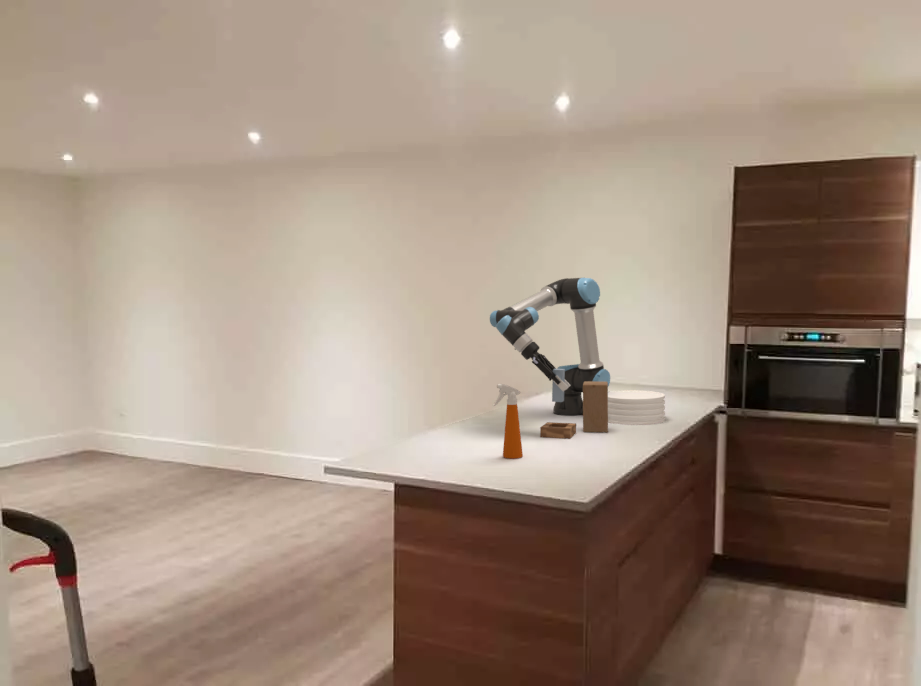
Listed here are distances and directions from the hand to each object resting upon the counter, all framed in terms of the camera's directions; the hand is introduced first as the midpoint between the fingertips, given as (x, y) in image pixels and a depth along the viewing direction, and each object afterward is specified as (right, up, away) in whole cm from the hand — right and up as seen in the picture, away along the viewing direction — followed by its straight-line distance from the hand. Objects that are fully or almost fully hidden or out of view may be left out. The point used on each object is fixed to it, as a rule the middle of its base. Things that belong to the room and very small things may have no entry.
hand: (566, 388), depth 301 cm
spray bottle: (-26, -22, -35) cm, 49 cm away
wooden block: (+14, -18, +12) cm, 26 cm away
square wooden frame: (-3, -19, +3) cm, 20 cm away
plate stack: (+35, -16, +36) cm, 53 cm away
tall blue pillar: (-3, -5, +2) cm, 7 cm away
